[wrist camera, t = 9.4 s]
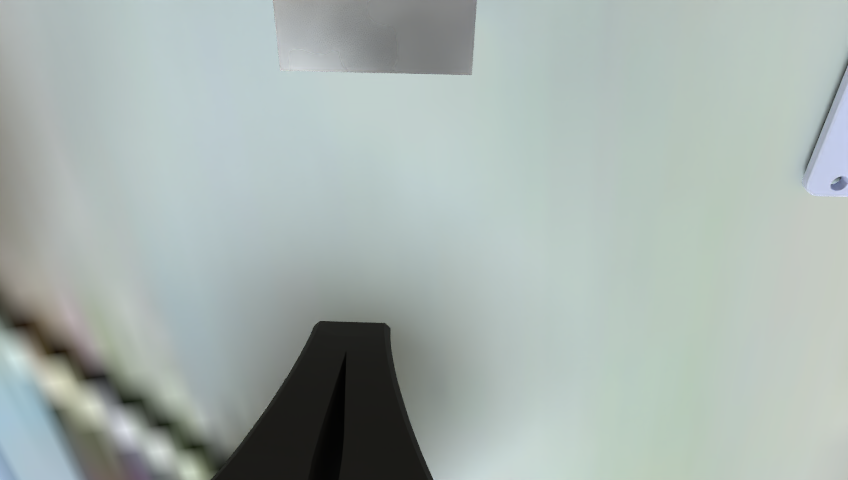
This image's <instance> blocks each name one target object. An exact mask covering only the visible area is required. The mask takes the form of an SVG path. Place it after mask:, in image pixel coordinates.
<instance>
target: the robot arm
mask: <svg viewBox="0 0 848 480" xmlns="http://www.w3.org/2000/svg"><path fill="white" fill-rule="evenodd" d="M837 177H841V179H840V180H839V181H838V182H837V183H835V184H831V183H832V181H833V180H834V179H836V178H837ZM802 184H803V187H804V188H805V189H806V190H807V191H808V192H809V193H810V194H811V195H815V196H841V197H848V66H847V69H846V71H845V74H844V76H843V79H842V81H841V84H840V86H839V89H838V91H837V94H836V96H835V99H834V101H833V104H832V106H831V109H830V111H829V114H828V116H827V119H826V121H825V124H824V126H823V129H822V131H821V134H820V136H819V139H818V141H817V144H816V146H815V149H814V151H813V154H812V156H811V159H810V161H809V164H808V166H807V169H806V171H805V174H804V176H803V181H802ZM211 480H433V478H432V476H431V474H430V471H429V469H428V467H427V464H426V462H425V460H424V457H423V455H422V453H421V450H420V447H419V445H418V442H417V440H416V437H415V434H414V432H413V429H412V426H411V423H410V421H409V418H408V415H407V411H406V408H405V405H404V402H403V399H402V395H401V392H400V389H399V385H398V381H397V377H396V372H395V368H394V363H393V358H392V351H391V341H390V327H389V326H387V325H386V324H385V323H363V322H330V321H320V322H319V323H317V324H316V325H315V326H314V328H313V330H312V332H311V335H310V337H309V339H308V341H307V343H306V345H305V346H304V348H303V350H302V352H301V354H300V356H299V358H298V359H297V361H296V363H295V364H294V366H293V368H292V370H291V371H290V373H289V375H288V376H287V378H286V379H285V381H284V382H283V384H282V386H281V387H280V389H279V390H278V392H277V393H276V395H275V396H274V398H273V400H272V401H271V403H270V404H269V406H268V407H267V409H266V410H265V411H264V413H263V414H262V416H261V417H260V418H259V420H258V421H257V422H256V424H255V425H254V426H253V428H252V429H251V431H250V432H249V433H248V435H247V436H246V437H245V439H244V440H243V441H242V443H241V444H240V445H239V447H238V448H237V449H236V450H235V452H234V453H233V454H232V455H231V457H230V458H229V459H228V460H227V462H226V463H225V464H224V465H223V466H222V468H221V469H220V470H219V471H218V472H217V473H216V475H215V476H214V477H213V478H212V479H211Z"/></svg>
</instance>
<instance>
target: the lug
mask: <svg viewBox="0 0 848 480" xmlns="http://www.w3.org/2000/svg"><path fill="white" fill-rule="evenodd" d="M476 3H477V0H273V6H274V16H275V26H276V35H277V45H278V55H279V64H280V71H320V72H364V73H409V74H453V75H472V62H473V48H474V33H475V18H476Z"/></svg>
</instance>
